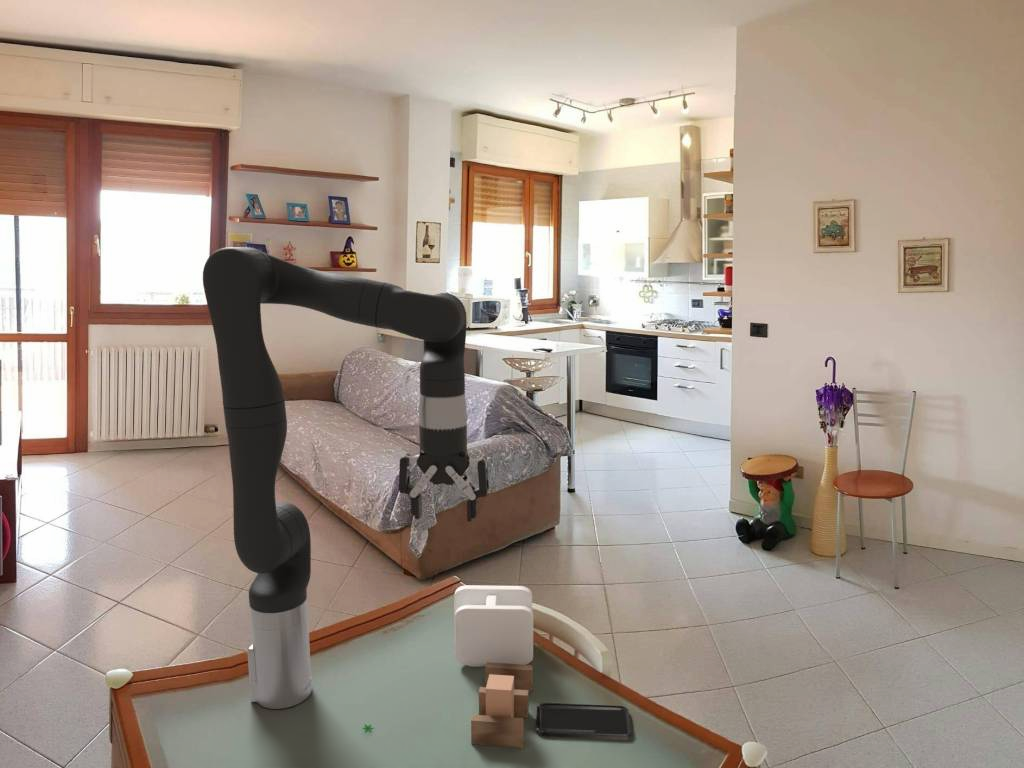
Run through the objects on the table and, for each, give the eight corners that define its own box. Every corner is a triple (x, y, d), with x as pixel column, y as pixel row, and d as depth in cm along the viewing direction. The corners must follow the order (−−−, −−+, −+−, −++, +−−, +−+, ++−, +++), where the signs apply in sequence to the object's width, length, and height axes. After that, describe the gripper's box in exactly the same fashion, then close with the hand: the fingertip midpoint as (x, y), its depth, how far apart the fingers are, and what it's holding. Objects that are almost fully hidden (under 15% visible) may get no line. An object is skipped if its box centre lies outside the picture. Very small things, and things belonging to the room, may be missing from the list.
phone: (537, 702, 129) (627, 706, 128) (537, 708, 129) (627, 712, 128) (535, 732, 121) (632, 736, 120) (535, 738, 122) (631, 742, 121)
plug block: (485, 734, 122) (485, 688, 120) (489, 719, 126) (489, 674, 124) (511, 736, 122) (511, 690, 120) (513, 720, 125) (514, 675, 124)
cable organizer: (450, 668, 141) (449, 609, 138) (455, 638, 151) (454, 582, 149) (532, 669, 140) (533, 610, 138) (532, 639, 151) (533, 583, 148)
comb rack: (471, 743, 120) (471, 720, 119) (486, 683, 136) (486, 662, 135) (522, 747, 119) (522, 724, 118) (532, 686, 135) (532, 665, 134)
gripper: (392, 425, 119) (395, 525, 122) (484, 428, 118) (484, 529, 121) (404, 414, 127) (407, 509, 130) (491, 417, 125) (491, 512, 128)
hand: (444, 518), depth 125 cm, fingers open, 8 cm apart
